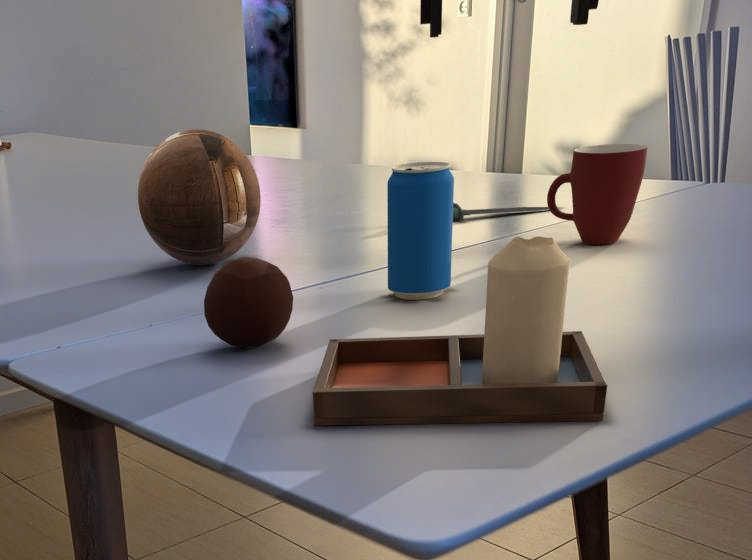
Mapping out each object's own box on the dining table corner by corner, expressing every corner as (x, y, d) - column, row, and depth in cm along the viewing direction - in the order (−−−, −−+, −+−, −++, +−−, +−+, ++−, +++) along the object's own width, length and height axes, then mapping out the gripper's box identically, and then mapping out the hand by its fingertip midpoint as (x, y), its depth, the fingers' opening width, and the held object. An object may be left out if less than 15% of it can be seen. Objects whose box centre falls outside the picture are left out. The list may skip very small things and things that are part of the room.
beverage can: (425, 283, 99) (427, 159, 93) (463, 293, 94) (468, 163, 88) (375, 293, 97) (374, 167, 90) (411, 305, 92) (412, 172, 85)
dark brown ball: (257, 327, 89) (251, 243, 85) (317, 345, 83) (313, 255, 79) (188, 346, 85) (177, 259, 81) (244, 366, 79) (236, 273, 75)
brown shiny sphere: (137, 261, 121) (119, 132, 113) (246, 246, 124) (235, 119, 116) (161, 283, 109) (141, 141, 100) (280, 266, 112) (271, 126, 104)
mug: (542, 250, 109) (550, 156, 103) (544, 236, 115) (551, 147, 109) (636, 248, 106) (650, 151, 100) (633, 234, 112) (645, 142, 107)
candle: (509, 398, 66) (519, 251, 60) (467, 378, 70) (473, 238, 65) (573, 384, 67) (588, 239, 62) (528, 365, 72) (539, 228, 66)
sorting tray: (578, 362, 73) (581, 330, 72) (602, 420, 63) (607, 385, 61) (330, 369, 77) (329, 339, 75) (314, 425, 66) (312, 391, 65)
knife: (406, 211, 125) (395, 202, 129) (405, 228, 126) (394, 218, 130) (566, 202, 128) (550, 194, 132) (563, 219, 130) (548, 209, 134)
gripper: (375, -319, 52) (378, 42, 61) (699, -364, 49) (649, 19, 59) (378, -282, 58) (380, 40, 67) (665, -321, 55) (626, 19, 65)
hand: (506, 30), depth 63 cm, fingers open, 9 cm apart
